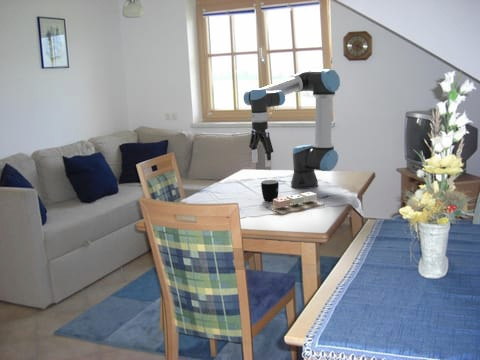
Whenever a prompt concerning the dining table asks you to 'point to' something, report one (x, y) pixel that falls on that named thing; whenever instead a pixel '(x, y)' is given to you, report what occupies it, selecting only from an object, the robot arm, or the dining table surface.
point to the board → (296, 207)
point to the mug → (269, 190)
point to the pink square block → (281, 202)
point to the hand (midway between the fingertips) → (261, 164)
